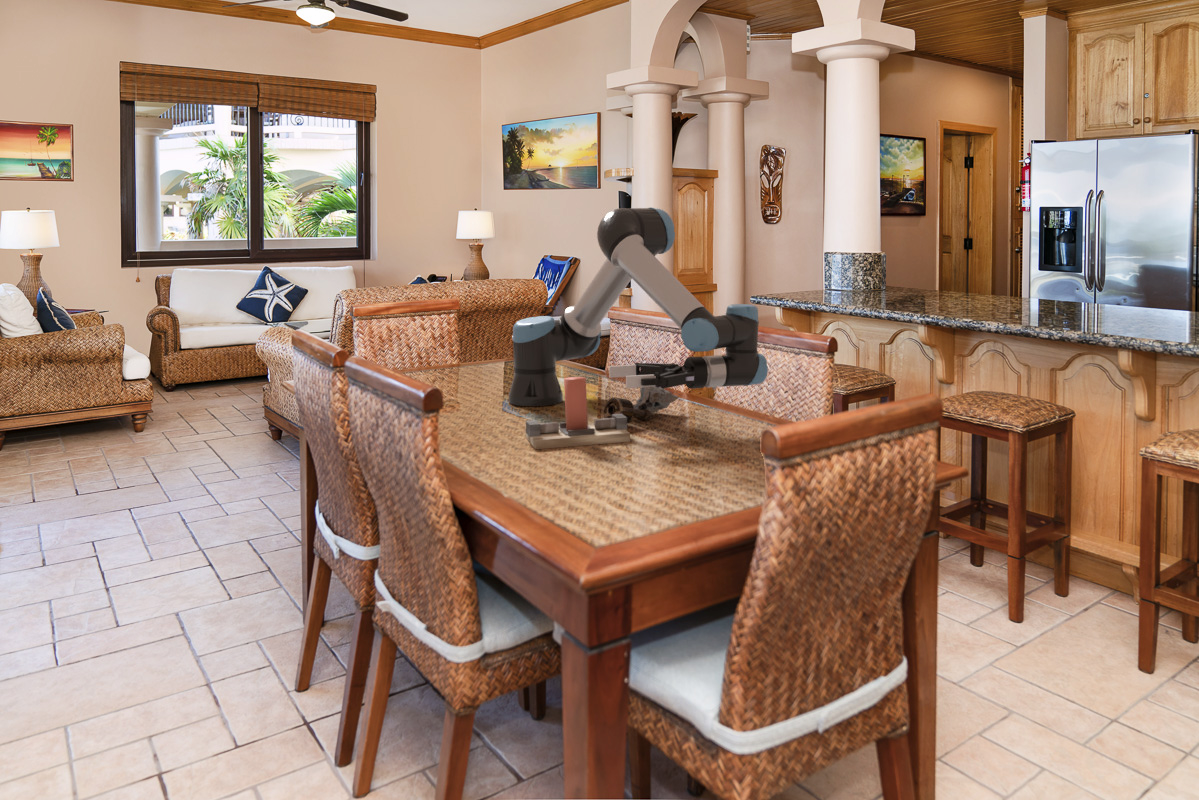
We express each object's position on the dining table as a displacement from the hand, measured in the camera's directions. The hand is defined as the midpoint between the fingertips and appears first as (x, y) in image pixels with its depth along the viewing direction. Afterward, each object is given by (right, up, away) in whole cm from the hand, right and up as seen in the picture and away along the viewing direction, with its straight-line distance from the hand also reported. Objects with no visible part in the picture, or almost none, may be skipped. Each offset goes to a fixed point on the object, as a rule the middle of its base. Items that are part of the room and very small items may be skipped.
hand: (617, 376), depth 208 cm
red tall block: (-9, -12, 0) cm, 15 cm away
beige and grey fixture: (-9, -15, 0) cm, 17 cm away
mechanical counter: (+3, -11, +16) cm, 20 cm away
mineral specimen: (+10, -9, +26) cm, 29 cm away
